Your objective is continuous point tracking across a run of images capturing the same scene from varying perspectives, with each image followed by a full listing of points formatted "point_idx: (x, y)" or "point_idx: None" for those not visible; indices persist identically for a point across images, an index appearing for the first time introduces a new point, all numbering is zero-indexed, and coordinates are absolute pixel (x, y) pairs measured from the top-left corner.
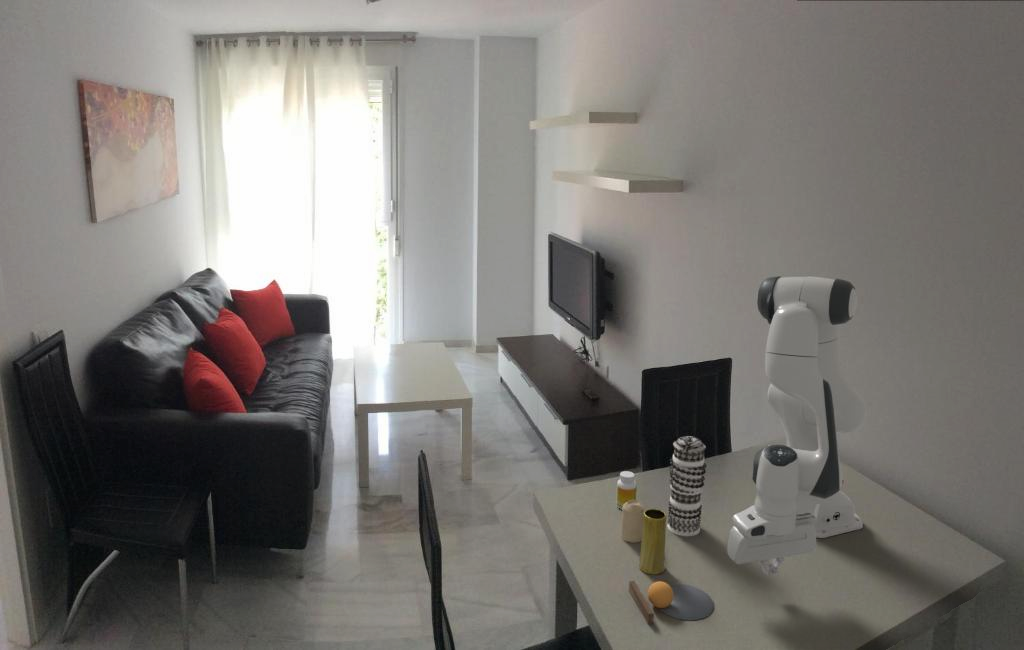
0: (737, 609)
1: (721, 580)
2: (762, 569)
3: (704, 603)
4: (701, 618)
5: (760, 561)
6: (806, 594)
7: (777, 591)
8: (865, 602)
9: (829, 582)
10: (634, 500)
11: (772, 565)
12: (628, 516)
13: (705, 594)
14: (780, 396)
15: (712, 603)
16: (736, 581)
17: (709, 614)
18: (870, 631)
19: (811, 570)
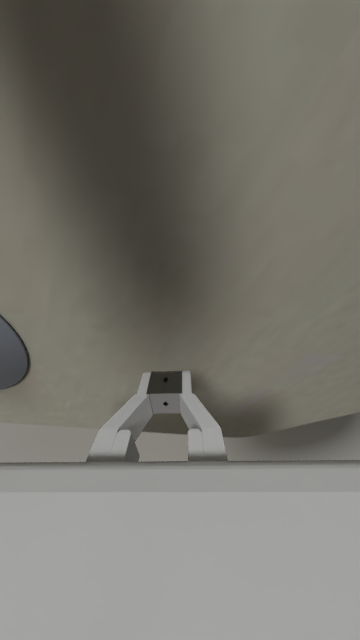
0: (81, 374)
1: (56, 270)
2: (142, 377)
3: (3, 355)
4: (1, 388)
5: (117, 413)
6: (250, 353)
7: (194, 336)
8: (334, 384)
9: (340, 324)
10: None
11: (173, 404)
12: None
13: (3, 328)
14: None
15: (23, 358)
16: (103, 282)
17: (17, 381)
18: (270, 428)
19: (355, 266)
